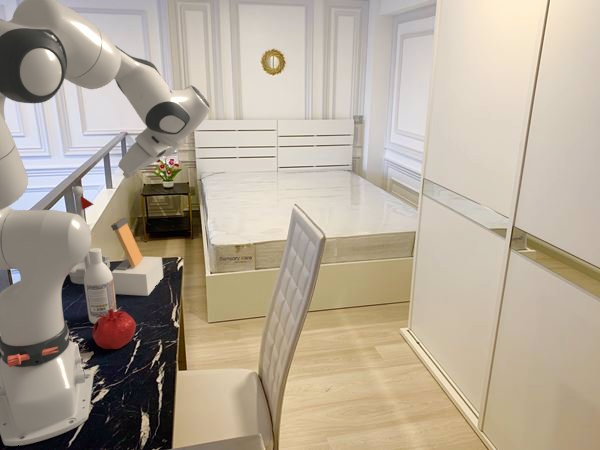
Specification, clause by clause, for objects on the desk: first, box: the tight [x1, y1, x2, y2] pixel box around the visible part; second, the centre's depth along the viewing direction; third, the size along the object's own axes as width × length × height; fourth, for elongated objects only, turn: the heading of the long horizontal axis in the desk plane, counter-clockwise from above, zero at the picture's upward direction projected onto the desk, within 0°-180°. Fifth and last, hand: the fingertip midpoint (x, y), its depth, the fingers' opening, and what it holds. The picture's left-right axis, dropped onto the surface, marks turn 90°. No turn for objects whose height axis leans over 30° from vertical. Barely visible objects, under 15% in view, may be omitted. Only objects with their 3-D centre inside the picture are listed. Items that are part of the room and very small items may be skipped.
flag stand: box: [67, 185, 111, 285], centre depth 142 cm, size 13×13×30 cm
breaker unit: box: [111, 255, 164, 297], centre depth 141 cm, size 10×13×8 cm
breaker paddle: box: [110, 217, 144, 267], centre depth 138 cm, size 2×6×14 cm, turn 176°
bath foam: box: [83, 247, 118, 324], centre depth 119 cm, size 7×7×20 cm
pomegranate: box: [91, 308, 137, 350], centre depth 111 cm, size 10×10×9 cm
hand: (127, 175), depth 120 cm, fingers closed
